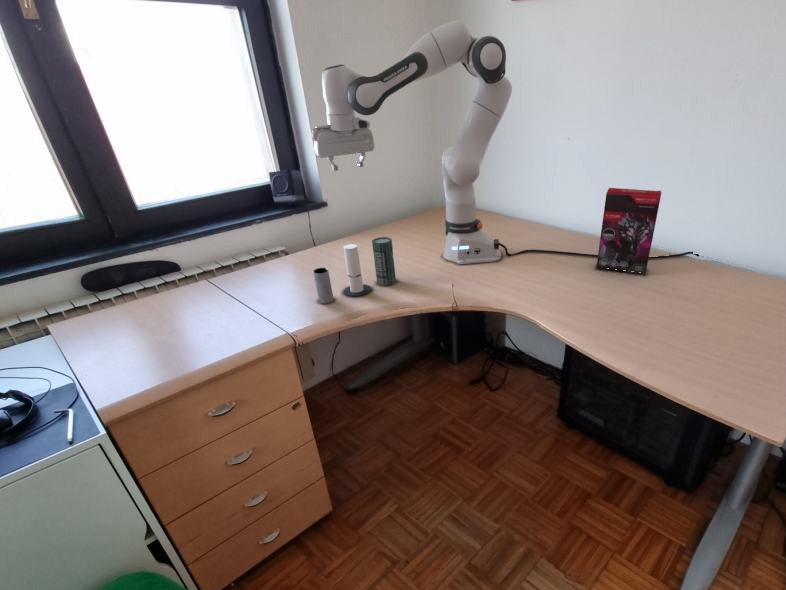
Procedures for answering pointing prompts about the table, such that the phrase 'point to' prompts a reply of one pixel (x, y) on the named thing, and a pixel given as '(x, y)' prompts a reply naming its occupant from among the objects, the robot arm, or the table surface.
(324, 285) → the grey hollow cylinder
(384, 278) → the can
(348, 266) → the tube
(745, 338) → the table surface
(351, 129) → the robot arm
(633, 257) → the graphics card box
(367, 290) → the slate coaster
